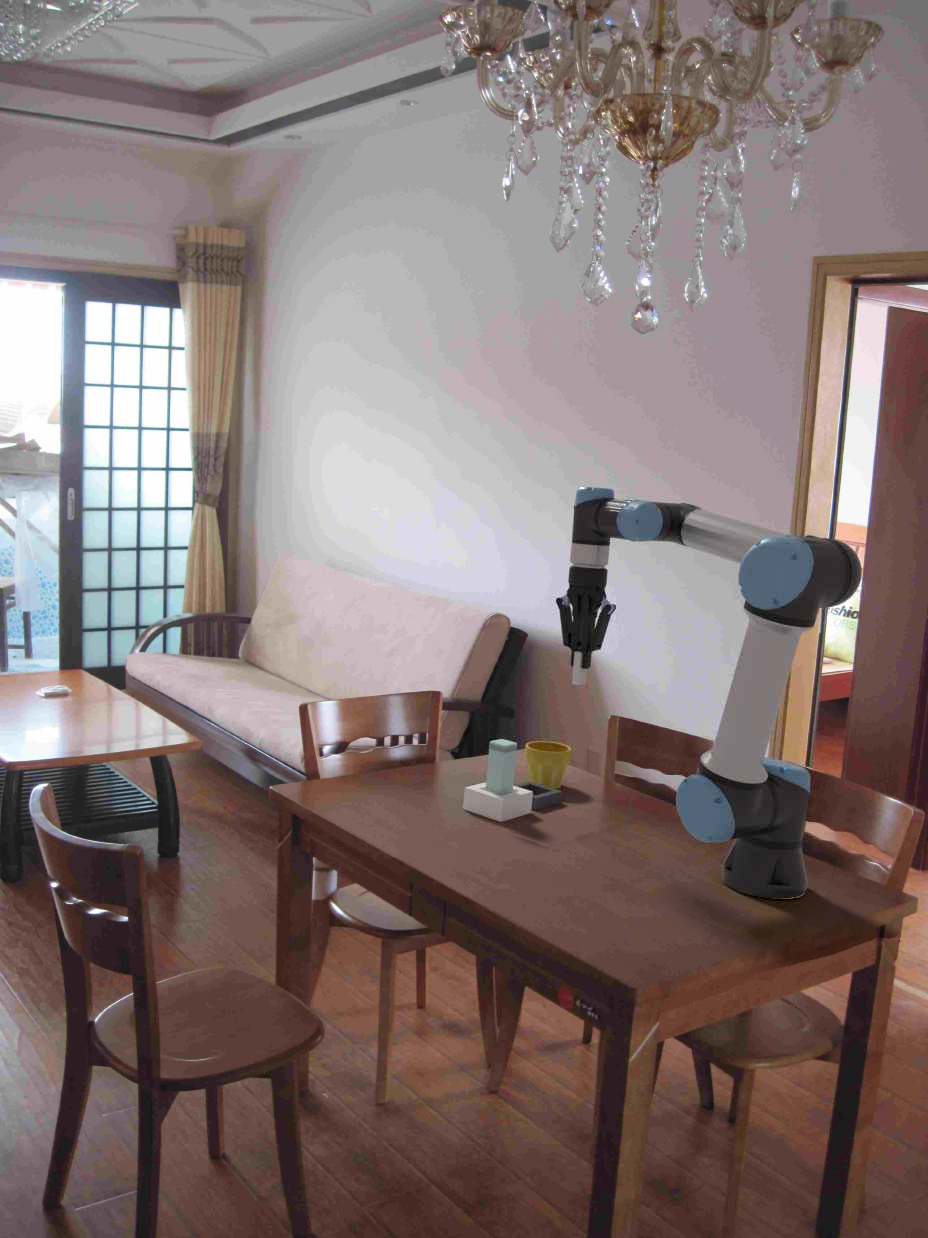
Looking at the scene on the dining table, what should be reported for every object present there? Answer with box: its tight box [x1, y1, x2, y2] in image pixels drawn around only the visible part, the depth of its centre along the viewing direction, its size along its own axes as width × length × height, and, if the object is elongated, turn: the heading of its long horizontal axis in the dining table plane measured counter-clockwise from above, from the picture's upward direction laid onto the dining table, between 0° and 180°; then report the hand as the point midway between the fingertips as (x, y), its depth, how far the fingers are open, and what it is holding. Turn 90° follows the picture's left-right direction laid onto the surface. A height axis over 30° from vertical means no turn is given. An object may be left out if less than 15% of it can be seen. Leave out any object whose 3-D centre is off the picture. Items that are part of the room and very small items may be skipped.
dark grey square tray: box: [513, 780, 563, 811], centre depth 246 cm, size 9×9×3 cm
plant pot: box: [524, 740, 572, 790], centre depth 259 cm, size 10×10×10 cm
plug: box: [485, 738, 518, 796], centre depth 236 cm, size 4×4×14 cm
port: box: [462, 781, 533, 822], centre depth 236 cm, size 10×10×6 cm
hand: (578, 683), depth 229 cm, fingers closed
